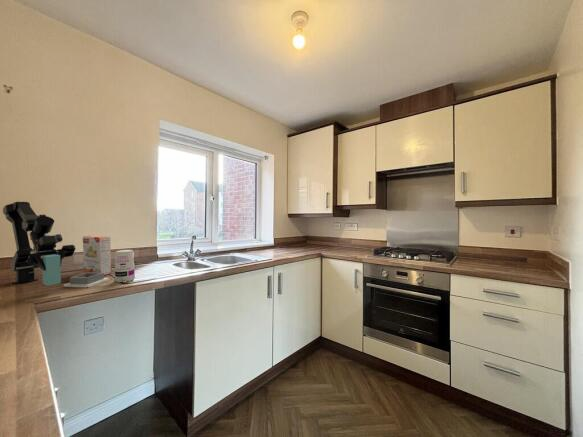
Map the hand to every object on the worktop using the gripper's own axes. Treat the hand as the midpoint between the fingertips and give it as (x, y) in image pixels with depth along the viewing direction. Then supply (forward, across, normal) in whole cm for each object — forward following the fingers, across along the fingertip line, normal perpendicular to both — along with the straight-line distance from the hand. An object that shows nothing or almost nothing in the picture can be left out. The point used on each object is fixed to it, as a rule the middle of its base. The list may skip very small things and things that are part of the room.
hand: (52, 268), depth 106 cm
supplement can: (+12, +25, +3) cm, 28 cm away
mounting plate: (+4, +14, +10) cm, 18 cm away
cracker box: (-6, +25, +22) cm, 34 cm away
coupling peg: (+4, 0, +6) cm, 7 cm away
